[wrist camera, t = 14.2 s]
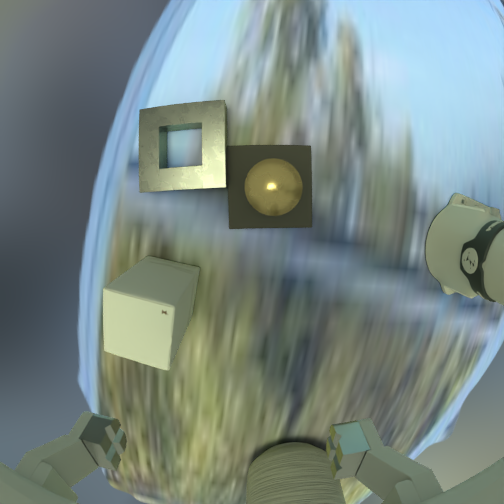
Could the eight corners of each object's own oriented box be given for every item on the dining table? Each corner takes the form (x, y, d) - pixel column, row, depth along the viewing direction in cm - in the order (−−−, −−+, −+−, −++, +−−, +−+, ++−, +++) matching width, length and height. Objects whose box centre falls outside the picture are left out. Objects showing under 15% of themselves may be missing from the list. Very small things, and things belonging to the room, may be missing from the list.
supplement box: (146, 253, 42) (101, 285, 28) (201, 266, 43) (176, 306, 28) (141, 305, 44) (101, 351, 30) (192, 318, 45) (169, 373, 30)
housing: (226, 107, 37) (224, 99, 33) (228, 187, 40) (225, 187, 36) (149, 115, 37) (139, 109, 33) (149, 191, 40) (139, 192, 36)
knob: (288, 166, 39) (302, 158, 28) (288, 207, 40) (302, 215, 29) (246, 166, 39) (244, 158, 28) (246, 207, 40) (245, 216, 29)
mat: (310, 146, 39) (310, 145, 38) (311, 227, 41) (311, 227, 41) (227, 146, 39) (227, 146, 38) (229, 228, 41) (229, 228, 41)
